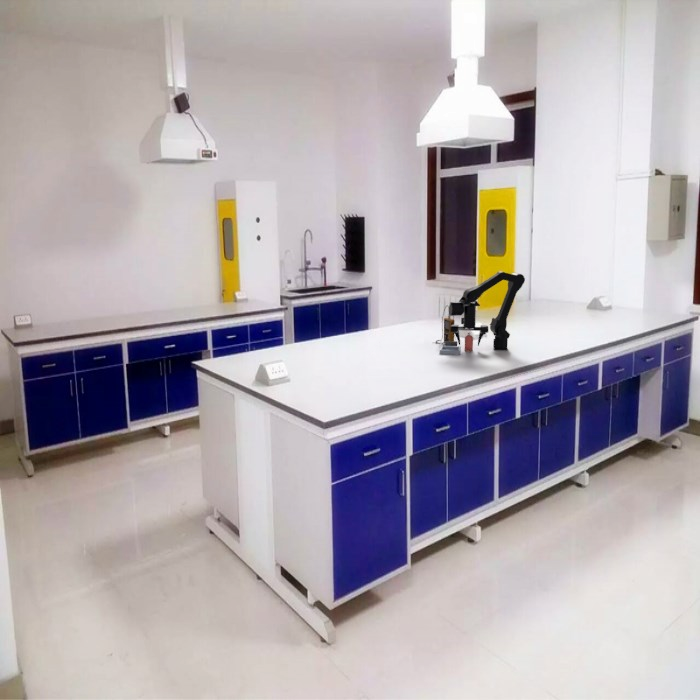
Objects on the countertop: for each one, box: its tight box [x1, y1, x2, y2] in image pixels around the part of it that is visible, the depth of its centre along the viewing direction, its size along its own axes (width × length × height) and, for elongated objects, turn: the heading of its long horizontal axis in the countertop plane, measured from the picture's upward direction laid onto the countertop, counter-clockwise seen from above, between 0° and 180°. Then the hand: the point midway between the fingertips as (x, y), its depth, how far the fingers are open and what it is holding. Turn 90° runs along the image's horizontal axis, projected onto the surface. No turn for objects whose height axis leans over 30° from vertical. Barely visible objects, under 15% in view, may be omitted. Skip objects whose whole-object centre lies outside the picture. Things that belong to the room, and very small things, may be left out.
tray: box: [439, 345, 462, 356], centre depth 317 cm, size 10×10×2 cm
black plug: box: [442, 340, 458, 346], centre depth 327 cm, size 7×4×4 cm
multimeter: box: [432, 304, 457, 345], centre depth 335 cm, size 15×10×20 cm
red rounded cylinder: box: [464, 332, 474, 352], centre depth 319 cm, size 4×4×9 cm
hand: (468, 345), depth 320 cm, fingers open, 9 cm apart
